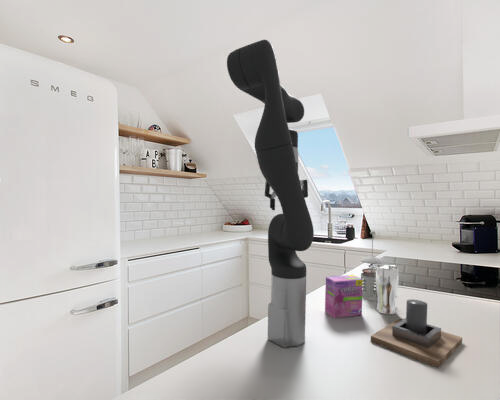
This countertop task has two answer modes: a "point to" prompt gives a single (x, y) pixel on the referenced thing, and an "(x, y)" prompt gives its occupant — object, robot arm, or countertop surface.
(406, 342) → the mount
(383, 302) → the beer glass
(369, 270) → the french press
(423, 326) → the grey rounded cylinder
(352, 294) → the box
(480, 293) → the countertop surface
